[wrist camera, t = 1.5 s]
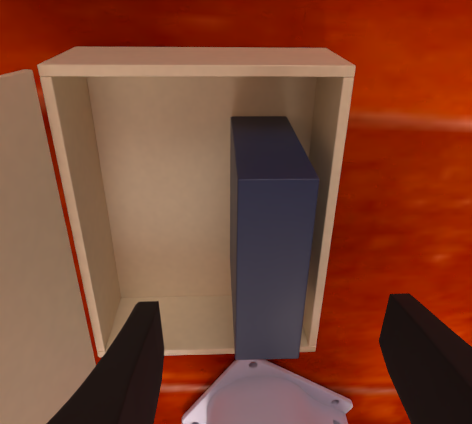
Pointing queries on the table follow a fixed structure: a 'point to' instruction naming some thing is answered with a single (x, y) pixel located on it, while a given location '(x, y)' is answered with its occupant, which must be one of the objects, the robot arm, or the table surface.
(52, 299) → the flap
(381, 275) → the table surface
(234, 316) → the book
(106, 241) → the carton
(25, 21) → the table surface
